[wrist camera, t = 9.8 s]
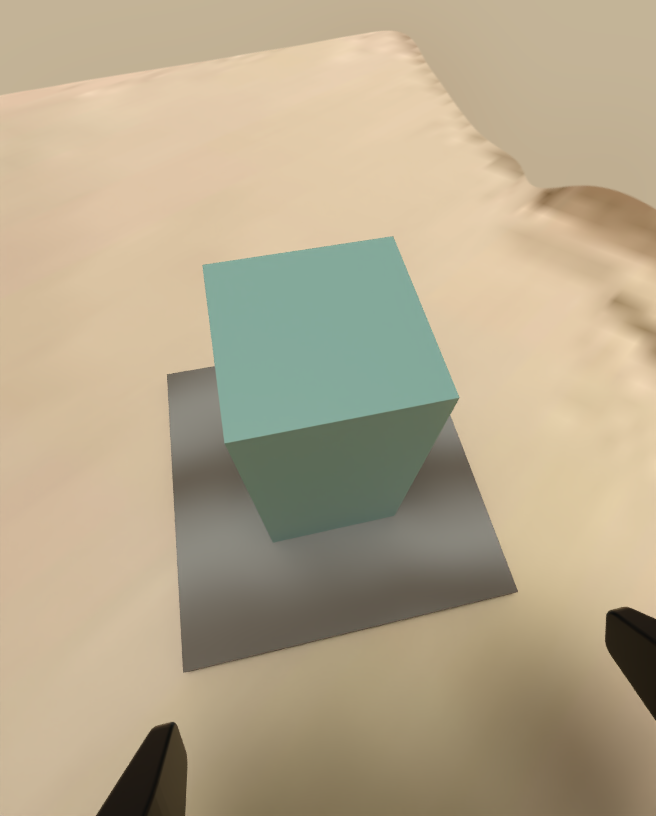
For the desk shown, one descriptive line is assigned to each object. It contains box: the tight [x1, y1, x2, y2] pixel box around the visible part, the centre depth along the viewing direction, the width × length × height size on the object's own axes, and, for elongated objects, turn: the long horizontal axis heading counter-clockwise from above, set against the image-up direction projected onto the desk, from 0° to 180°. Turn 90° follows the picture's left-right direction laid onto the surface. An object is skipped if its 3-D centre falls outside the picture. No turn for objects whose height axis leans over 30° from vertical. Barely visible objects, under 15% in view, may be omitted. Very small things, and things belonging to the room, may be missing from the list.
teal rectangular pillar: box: [203, 236, 459, 543], centre depth 16 cm, size 6×6×11 cm
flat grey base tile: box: [167, 366, 518, 672], centre depth 20 cm, size 14×14×5 cm
